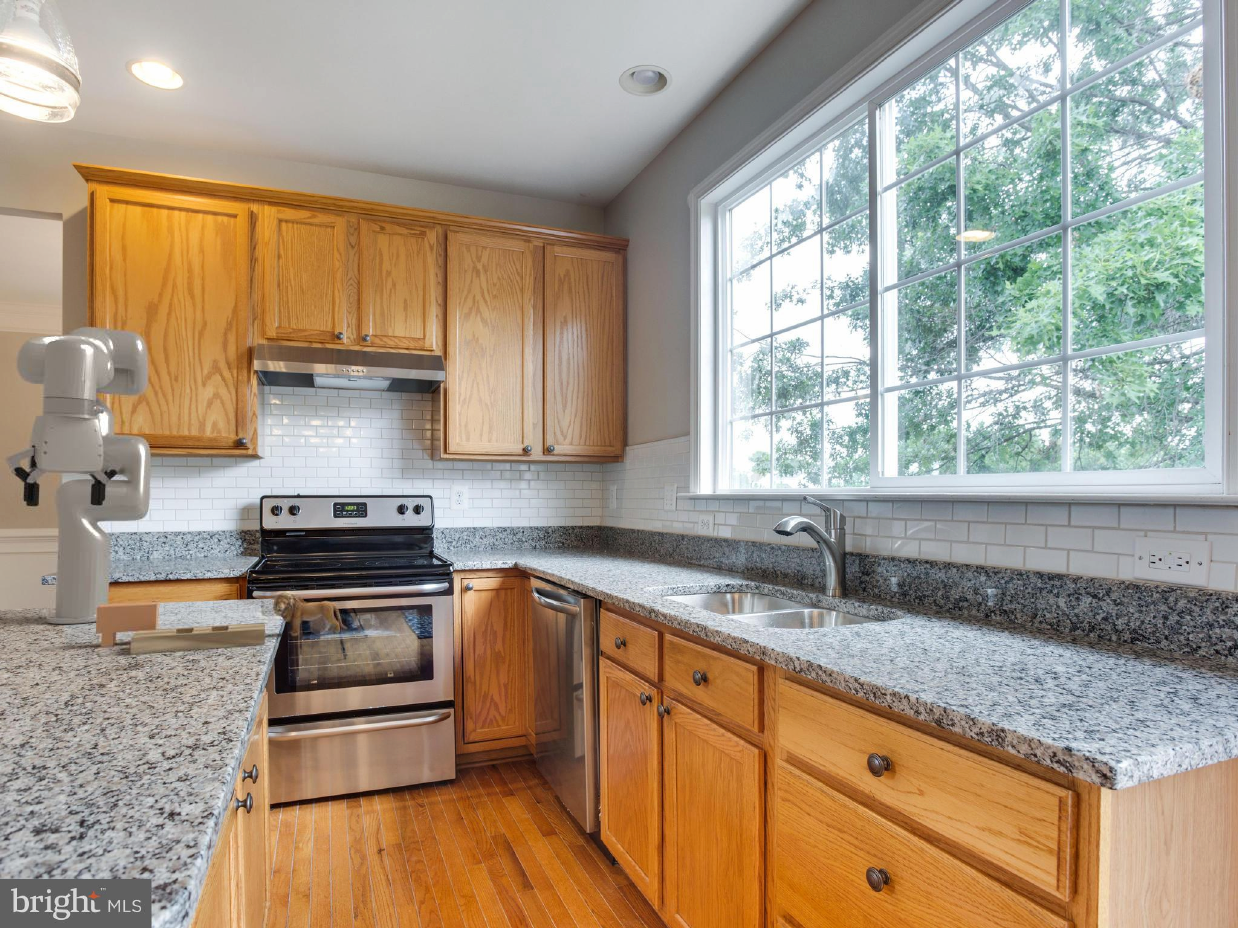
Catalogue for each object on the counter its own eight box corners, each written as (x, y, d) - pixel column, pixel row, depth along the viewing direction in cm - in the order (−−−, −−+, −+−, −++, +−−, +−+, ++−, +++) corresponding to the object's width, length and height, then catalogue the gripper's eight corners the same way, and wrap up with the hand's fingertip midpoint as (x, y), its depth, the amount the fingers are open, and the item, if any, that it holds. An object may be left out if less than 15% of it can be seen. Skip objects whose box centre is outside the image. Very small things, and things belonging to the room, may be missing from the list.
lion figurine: (272, 639, 145) (274, 594, 145) (271, 634, 150) (272, 591, 150) (348, 633, 152) (350, 591, 152) (345, 628, 157) (346, 587, 157)
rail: (136, 646, 136) (137, 630, 136) (264, 637, 146) (265, 622, 146) (130, 654, 130) (131, 637, 130) (264, 644, 140) (265, 629, 140)
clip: (99, 643, 138) (100, 604, 138) (157, 639, 142) (159, 601, 143) (95, 647, 135) (97, 607, 135) (155, 643, 139) (156, 604, 139)
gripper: (113, 415, 137) (110, 504, 136) (0, 406, 122) (-5, 505, 121) (133, 414, 133) (129, 505, 132) (18, 404, 118) (13, 507, 118)
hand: (65, 505), depth 127 cm, fingers open, 9 cm apart
